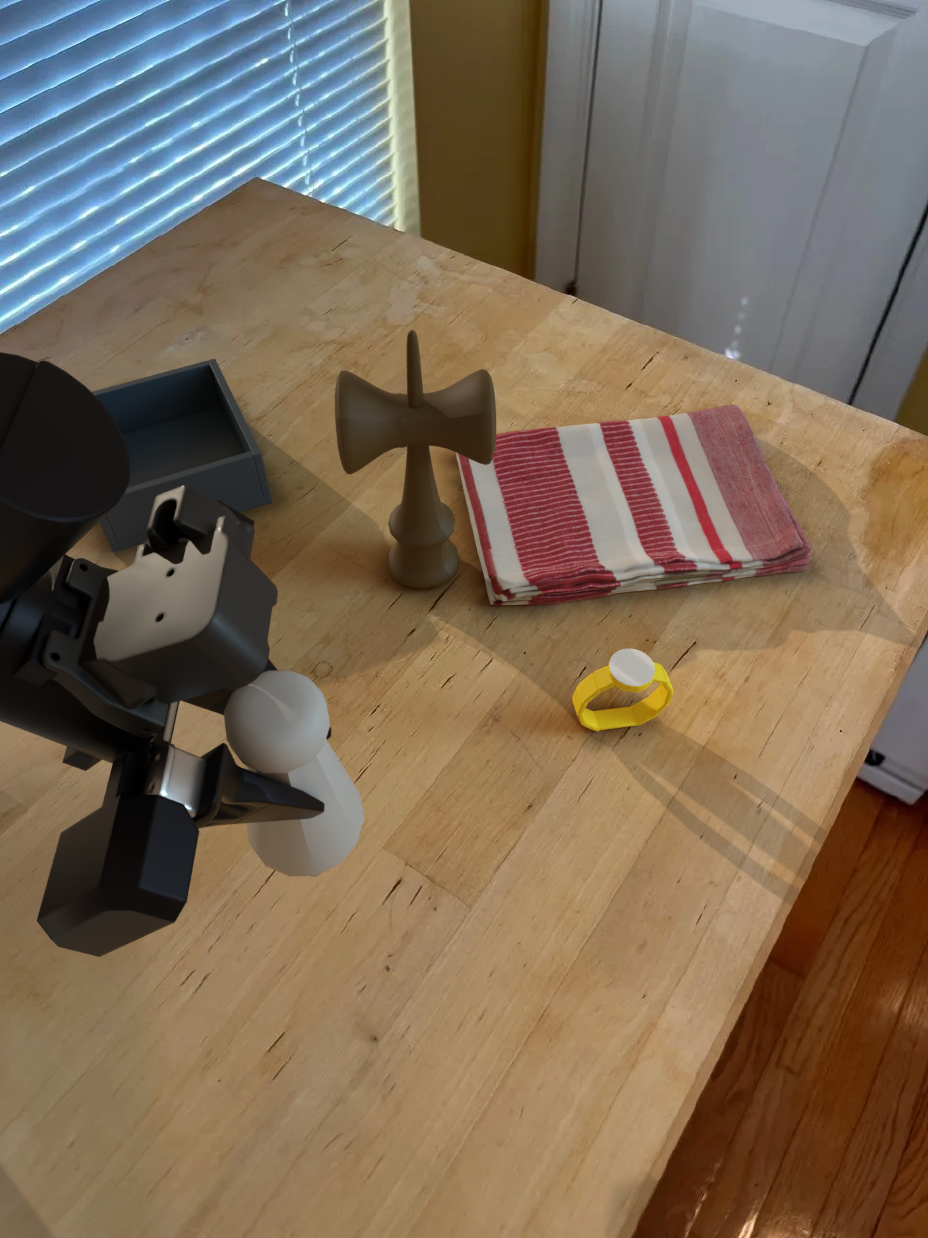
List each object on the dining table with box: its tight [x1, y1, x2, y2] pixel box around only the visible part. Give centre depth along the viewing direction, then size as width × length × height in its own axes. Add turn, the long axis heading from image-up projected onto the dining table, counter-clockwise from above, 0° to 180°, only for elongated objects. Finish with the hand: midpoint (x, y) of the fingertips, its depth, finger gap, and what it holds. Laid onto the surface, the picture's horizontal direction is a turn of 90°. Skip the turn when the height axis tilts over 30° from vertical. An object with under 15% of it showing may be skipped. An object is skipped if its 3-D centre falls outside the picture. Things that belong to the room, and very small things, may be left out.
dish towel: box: [454, 404, 813, 606], centre depth 70 cm, size 17×23×3 cm
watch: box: [571, 648, 674, 733], centre depth 58 cm, size 6×3×6 cm, turn 101°
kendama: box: [334, 329, 497, 589], centre depth 60 cm, size 6×10×20 cm, turn 93°
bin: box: [91, 357, 273, 553], centre depth 72 cm, size 12×12×5 cm
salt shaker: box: [223, 669, 365, 878], centre depth 43 cm, size 6×6×13 cm
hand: (322, 773), depth 43 cm, fingers closed on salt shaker, 3 cm apart
